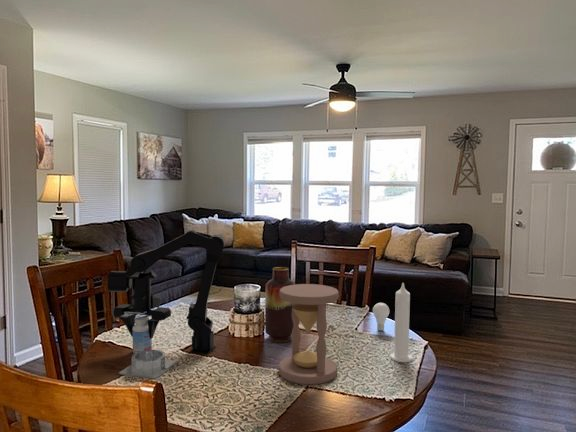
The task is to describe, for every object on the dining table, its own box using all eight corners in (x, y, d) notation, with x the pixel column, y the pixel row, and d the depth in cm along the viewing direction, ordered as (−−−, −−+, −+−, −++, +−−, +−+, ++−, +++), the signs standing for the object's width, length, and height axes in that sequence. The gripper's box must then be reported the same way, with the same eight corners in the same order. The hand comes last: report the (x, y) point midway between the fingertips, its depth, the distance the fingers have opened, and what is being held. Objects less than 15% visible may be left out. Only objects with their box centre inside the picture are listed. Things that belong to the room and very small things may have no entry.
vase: (268, 345, 156) (269, 271, 154) (262, 335, 167) (262, 266, 165) (299, 342, 159) (299, 270, 157) (290, 332, 170) (291, 265, 168)
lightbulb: (371, 332, 171) (372, 304, 171) (373, 327, 177) (373, 300, 177) (388, 334, 169) (389, 305, 169) (389, 329, 175) (390, 301, 175)
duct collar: (176, 363, 139) (176, 350, 139) (155, 379, 128) (155, 365, 128) (142, 359, 142) (142, 346, 142) (119, 374, 131) (119, 360, 131)
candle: (413, 363, 141) (415, 285, 140) (390, 361, 142) (392, 284, 141) (411, 355, 148) (413, 281, 146) (389, 353, 149) (391, 279, 148)
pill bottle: (148, 354, 146) (147, 321, 145) (129, 354, 146) (129, 321, 146) (154, 348, 152) (153, 316, 151) (136, 348, 152) (136, 315, 152)
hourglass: (271, 364, 139) (271, 285, 137) (321, 357, 145) (323, 282, 144) (291, 388, 122) (292, 299, 121) (347, 379, 129) (349, 294, 127)
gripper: (179, 287, 153) (179, 332, 154) (131, 284, 158) (132, 327, 159) (161, 295, 143) (162, 343, 144) (111, 291, 147) (112, 337, 148)
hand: (142, 337), depth 149 cm, fingers open, 7 cm apart
